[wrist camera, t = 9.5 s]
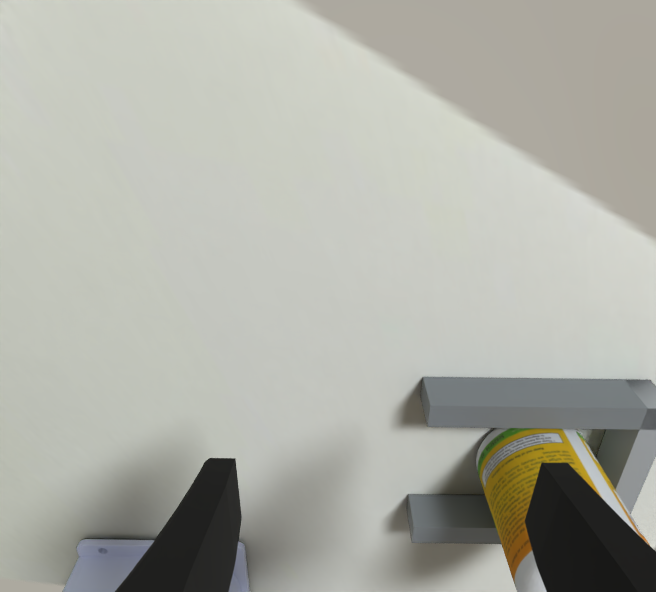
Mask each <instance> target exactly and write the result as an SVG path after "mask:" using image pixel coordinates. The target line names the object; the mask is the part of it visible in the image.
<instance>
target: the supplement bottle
mask: <svg viewBox="0 0 656 592" xmlns="http://www.w3.org/2000/svg"><path fill="white" fill-rule="evenodd" d="M541 463H568V464H569V465H570V466H571V467H572V468H573V469H574V470H575V471H576V472H577V473H578V474H579V475H580V476H581V477H582V478H583V479H584V480H585V481H586V482H587V483H588V484H589V485H590V486H591V487H592V488H593V489H594V490H595V491H596V493H597V494H598V495H599V496H600V497H601V498H602V499H603V500H604V501H605V502H606V503H607V504H608V505H609V506H610V507H611V508H612V509H613V510H614V511H615V512H616V513H617V514H618V515H619V516H620V517H621V518H622V519H623V520H624V521H625V522H626V523H627V524H628V525H629V526H630V527H631V528H632V529H633V530H634V531H635V532H636V533H637V534H638V535H639V536H640V537H641V538H642V539H643V540H644V541H645V542H646V543H647V544H648V545H649V543H648V542H647V540H646V539H645V537H644V535H643V534H642V532H641V531H640V529H639V527H638V526H637V524H636V523H635V521H634V519H633V518H632V516H631V515H630V513H629V511H628V510H627V508H626V506H625V505H624V503H623V502H622V500H621V498H620V497H619V495H618V493H617V492H616V490H615V488H614V487H613V485H612V483H611V482H610V480H609V478H608V477H607V475H606V473H605V472H604V470H603V469H602V467H601V465H600V464H599V462H598V460H597V459H596V457H595V455H594V454H593V452H592V451H591V449H590V447H589V446H588V444H587V443H586V441H585V440H584V438H583V437H582V435H581V434H580V433H579V431H578V430H577V429H548V428H496V429H494V430H493V431H492V432H491V433H490V434H489V435H488V436H487V437H486V438H485V439H484V441H483V442H482V444H481V445H480V447H479V450H478V453H477V457H476V467H477V471H478V475H479V478H480V481H481V484H482V487H483V490H484V493H485V496H486V499H487V502H488V505H489V508H490V511H491V514H492V517H493V520H494V523H495V526H496V529H497V532H498V535H499V538H500V541H501V544H502V547H503V550H504V553H505V556H506V559H507V562H508V565H509V568H510V571H511V575H512V578H513V581H514V584H515V587H516V589H517V592H547V591H546V589H545V586H544V584H543V581H542V578H541V576H540V573H539V571H538V568H537V565H536V562H535V558H534V555H533V551H532V548H531V544H530V540H529V536H528V533H527V529H526V525H525V518H526V515H527V511H528V508H529V504H530V501H531V497H532V494H533V491H534V487H535V484H536V480H537V477H538V473H539V470H540V466H541ZM649 546H650V545H649Z"/></svg>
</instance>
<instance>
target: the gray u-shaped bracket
mask: <svg viewBox="0 0 656 592" xmlns="http://www.w3.org/2000/svg"><path fill="white" fill-rule="evenodd" d="M421 402H422V406H423V410H424V414H425V418H426V422H427V427H470V428H548V429H606V432H605V434H604V437H603V440H602V443H601V446H600V448H599V451H598V454H597V457H596V459H597V460H598V462H599V464H600V465H601V467H602V469H603V470H604V472H605V473H606V475H607V477H608V478H609V480H610V482H611V483H612V485H613V487H614V488H615V490H616V492H617V493H618V495H619V497H620V498H621V500H622V502H623V503H624V505H625V506H626V508H627V510H628V511H629V513H630V514H631V512H632V510H633V507H634V505H635V503H636V501H637V498H638V496H639V494H640V491H641V489H642V487H643V484H644V482H645V480H646V477H647V475H648V473H649V470H650V468H651V466H652V464H653V461H654V459H655V457H656V386H655V385H654V384H653V383H652V381H651V380H621V379H542V378H463V377H423V381H422V389H421ZM407 515H408V521H409V528H410V534H411V541H412V543H471V544H501V541H500V538H499V535H498V532H497V529H496V526H495V523H494V520H493V517H492V514H491V511H490V508H489V505H488V502H487V499H486V496H485V495H416V494H409V495H408V503H407Z"/></svg>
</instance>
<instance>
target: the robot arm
mask: <svg viewBox="0 0 656 592" xmlns="http://www.w3.org/2000/svg"><path fill="white" fill-rule="evenodd" d="M240 525H241V508H240V499H239V489H238V480H237V470H236V461H235V459H231V458H209V459H208V460H207V461H206V462H205V463H204V465H203V467H202V468H201V470H200V472H199V474H198V475H197V477H196V479H195V480H194V482H193V484H192V485H191V487H190V489H189V490H188V492H187V493H186V495H185V497H184V498H183V500H182V501H181V503H180V504H179V506H178V507H177V509H176V510H175V512H174V513H173V515H172V516H171V518H170V519H169V521H168V522H167V523H166V525H165V526H164V528H163V529H162V531H161V532H160V534H159V535H158V536H157V538H156V539H155V540H113V539H84V540H81V541H80V542H79V544H78V546H77V552H78V555H79V558H78V560H77V562H76V564H75V566H74V568H73V571H72V573H71V575H70V577H69V579H68V581H67V583H66V585H65V587H64V589H63V591H62V592H250V589H249V579H248V569H247V560H246V550H245V545H244V544H243V543H241V542H239V533H240ZM525 525H526V529H527V533H528V536H529V540H530V544H531V548H532V551H533V555H534V558H535V562H536V565H537V568H538V571H539V573H540V576H541V578H542V581H543V584H544V586H545V589H546V591H547V592H656V551H655V550H653V549H652V548H651V547H650V546H649V545H648V544H647V543H646V542H645V541H644V540H643V539H642V538H641V537H640V536H639V535H638V534H637V533H636V532H635V531H634V530H633V529H632V528H631V527H630V526H629V525H628V524H627V523H626V522H625V521H624V520H623V519H622V518H621V517H620V516H619V515H618V514H617V513H616V512H615V511H614V510H613V509H612V508H611V507H610V506H609V505H608V504H607V503H606V502H605V501H604V500H603V499H602V498H601V497H600V496H599V495H598V494H597V493H596V491H595V490H594V489H593V488H592V487H591V486H590V485H589V484H588V483H587V482H586V481H585V480H584V479H583V478H582V477H581V476H580V475H579V474H578V473H577V472H576V471H575V470H574V469H573V468H572V467H571V466H570V465H569V464H568V463H541V466H540V470H539V473H538V477H537V480H536V484H535V487H534V491H533V494H532V497H531V501H530V504H529V508H528V511H527V515H526V518H525Z"/></svg>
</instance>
